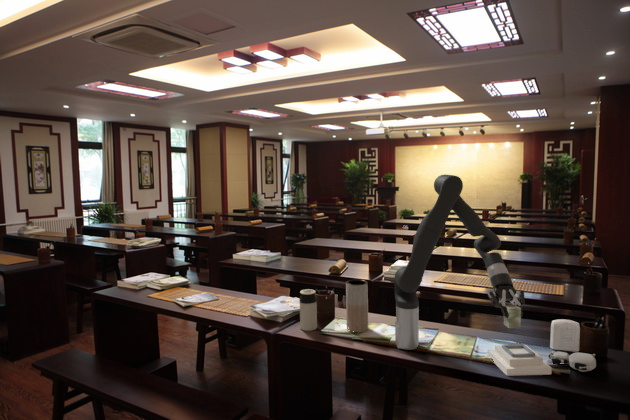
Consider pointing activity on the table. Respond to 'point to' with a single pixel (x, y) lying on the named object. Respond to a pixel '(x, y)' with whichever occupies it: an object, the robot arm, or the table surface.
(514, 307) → the block
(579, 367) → the robot toy
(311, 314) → the travel mug
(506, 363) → the plinth
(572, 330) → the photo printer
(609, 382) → the table surface
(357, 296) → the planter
